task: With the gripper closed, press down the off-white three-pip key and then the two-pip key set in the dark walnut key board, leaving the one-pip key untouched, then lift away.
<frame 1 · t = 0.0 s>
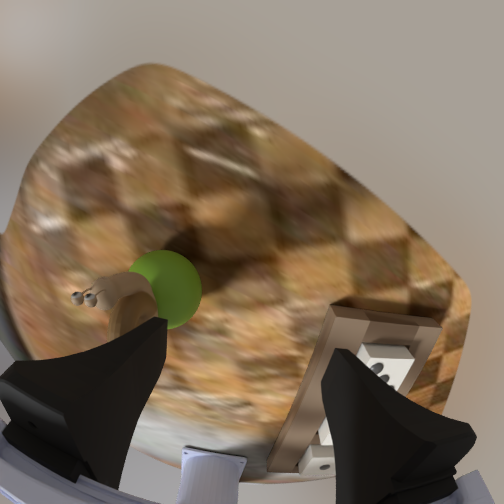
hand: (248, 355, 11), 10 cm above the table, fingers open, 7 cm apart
tile three pips: (377, 371, 21), point 2 cm above the table, slide at 0.0 cm
tile two pips: (347, 423, 22), point 2 cm above the table, slide at 0.0 cm
snail figurine: (173, 268, 21), on the table
key board: (342, 406, 25), on the table
tile one pip: (323, 459, 24), point 2 cm above the table, slide at 0.0 cm
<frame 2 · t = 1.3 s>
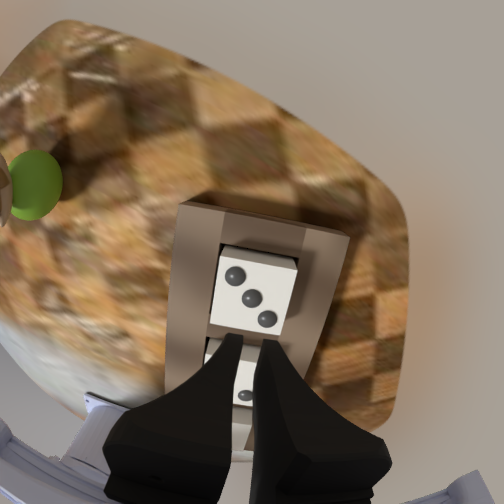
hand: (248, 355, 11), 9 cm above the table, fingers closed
tile three pips: (252, 290, 18), point 2 cm above the table, slide at 0.0 cm
tile two pips: (234, 372, 20), point 2 cm above the table, slide at 0.0 cm
snail figurine: (53, 176, 19), on the table
key board: (236, 353, 22), on the table
tile one pip: (222, 426, 22), point 2 cm above the table, slide at 0.0 cm
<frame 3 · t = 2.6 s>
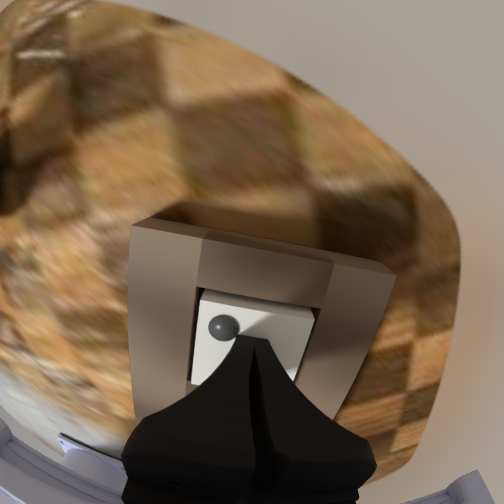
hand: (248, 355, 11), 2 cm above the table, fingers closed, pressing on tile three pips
tile three pips: (248, 340, 12), point 1 cm above the table, slide at 1.2 cm, touching gripper
key board: (229, 415, 15), on the table
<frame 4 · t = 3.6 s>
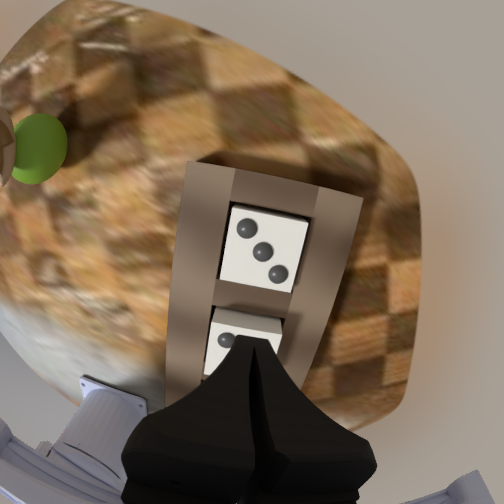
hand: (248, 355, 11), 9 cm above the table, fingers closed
tile three pips: (262, 246, 18), point 1 cm above the table, slide at 1.1 cm
tile two pips: (241, 346, 19), point 2 cm above the table, slide at 0.0 cm
snail figurine: (58, 143, 18), on the table
key board: (243, 327, 21), on the table
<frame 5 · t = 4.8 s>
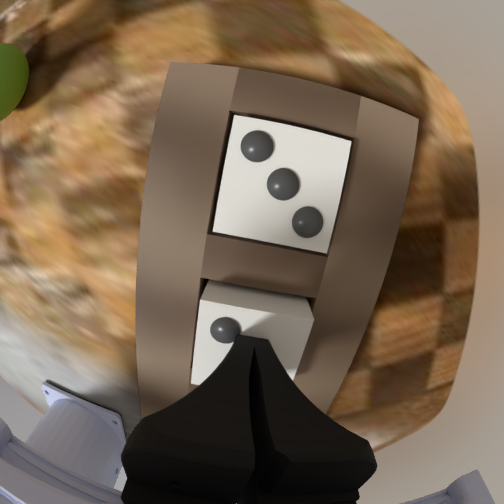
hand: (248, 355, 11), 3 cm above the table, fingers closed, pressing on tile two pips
tile three pips: (280, 183, 11), point 1 cm above the table, slide at 1.1 cm
tile two pips: (248, 340, 12), point 2 cm above the table, slide at 0.3 cm, touching gripper
snail figurine: (21, 84, 11), on the table
key board: (249, 317, 15), on the table
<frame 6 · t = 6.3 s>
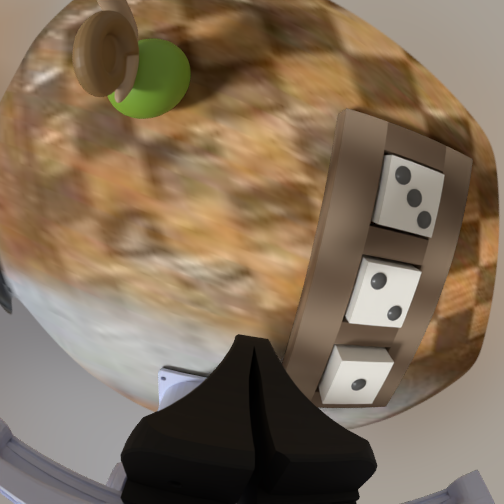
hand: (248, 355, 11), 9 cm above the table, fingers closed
tile three pips: (405, 196, 17), point 1 cm above the table, slide at 1.1 cm
tile two pips: (380, 290, 19), point 1 cm above the table, slide at 1.1 cm
snail figurine: (162, 83, 17), on the table
key board: (373, 283, 20), on the table
tile one pip: (354, 374, 20), point 2 cm above the table, slide at 0.0 cm
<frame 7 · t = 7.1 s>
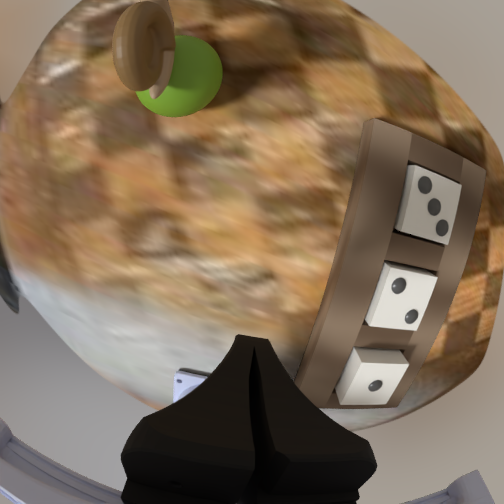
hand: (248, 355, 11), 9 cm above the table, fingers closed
tile three pips: (425, 204, 17), point 1 cm above the table, slide at 1.1 cm
tile two pips: (398, 295, 19), point 1 cm above the table, slide at 1.1 cm
snail figurine: (189, 82, 17), on the table
key board: (391, 287, 20), on the table
tile one pip: (370, 376, 20), point 2 cm above the table, slide at 0.0 cm
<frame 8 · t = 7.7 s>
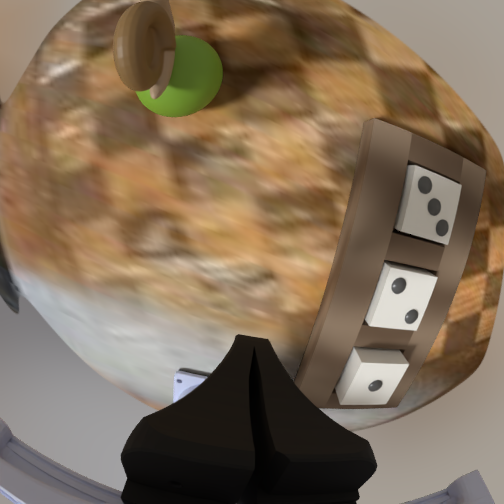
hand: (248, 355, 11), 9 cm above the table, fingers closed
tile three pips: (425, 204, 17), point 1 cm above the table, slide at 1.1 cm
tile two pips: (398, 295, 19), point 1 cm above the table, slide at 1.1 cm
snail figurine: (189, 82, 17), on the table
key board: (391, 287, 20), on the table
tile one pip: (370, 376, 20), point 2 cm above the table, slide at 0.0 cm
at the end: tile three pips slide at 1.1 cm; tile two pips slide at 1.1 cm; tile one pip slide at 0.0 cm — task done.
